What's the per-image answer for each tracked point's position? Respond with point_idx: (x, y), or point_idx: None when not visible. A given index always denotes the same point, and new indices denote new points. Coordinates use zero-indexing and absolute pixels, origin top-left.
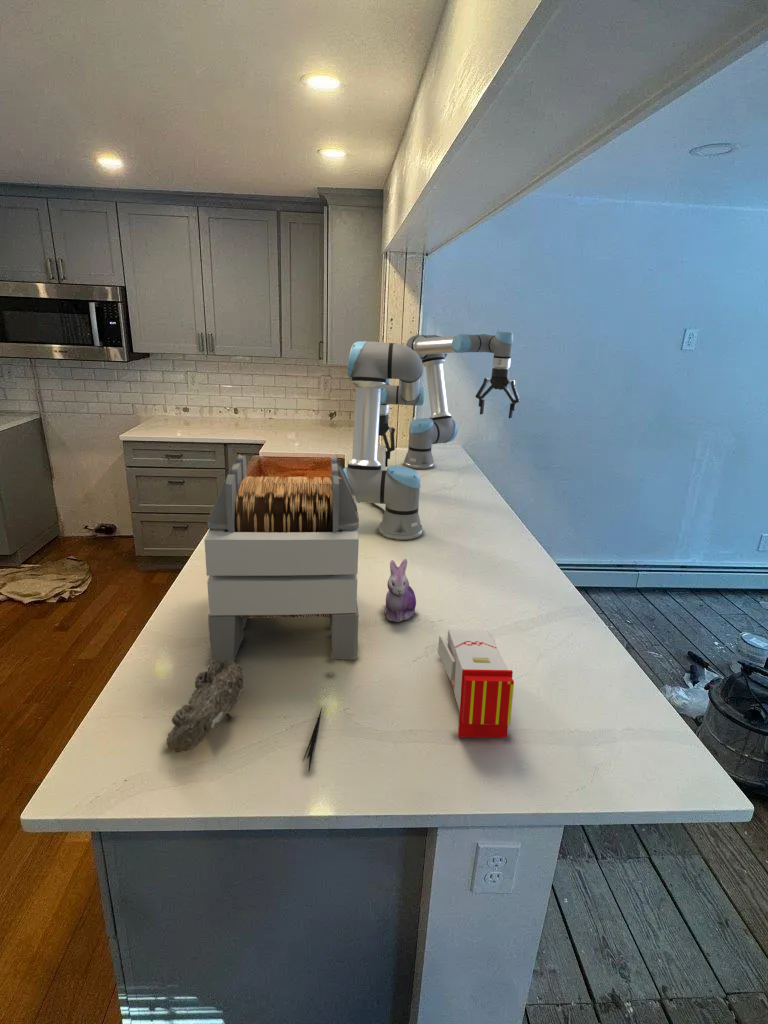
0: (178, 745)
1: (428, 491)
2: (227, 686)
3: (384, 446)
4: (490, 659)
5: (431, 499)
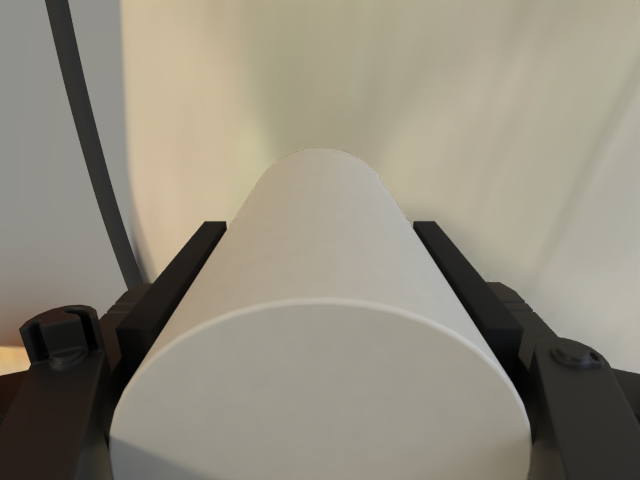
0: None
1: (637, 319)
2: None
3: (496, 462)
4: None
5: None
